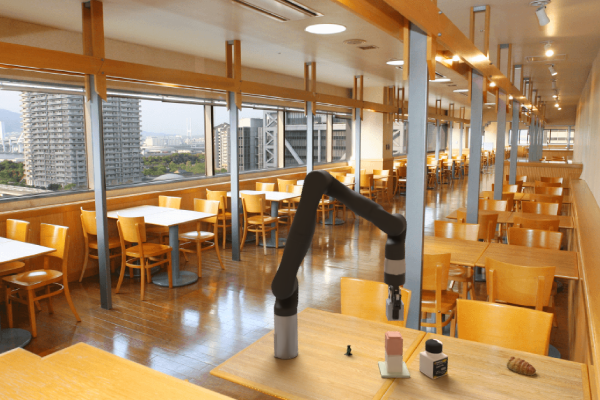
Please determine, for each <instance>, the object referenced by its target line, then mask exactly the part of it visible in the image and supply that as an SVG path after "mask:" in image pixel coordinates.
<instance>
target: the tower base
mask: <svg viewBox="0 0 600 400" xmlns="http://www.w3.org/2000/svg"><path fill="white" fill-rule="evenodd" d="M403 358H404V356H403V355H387V353H386V350H385V349H384V361H377V365H378V368H379V373H380V376H381V378H388V379H389V378H398V379H399V378H402V379H403V378H411V374H410V372H409V370H408V369H409V368H408V366H407V364H406V362H405V361H403V360H404V359H403Z"/></svg>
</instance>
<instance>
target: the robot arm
mask: <svg viewBox="0 0 600 400" xmlns="http://www.w3.org/2000/svg"><path fill="white" fill-rule="evenodd" d="M300 193H301V194H300V197H299V202H298V205H297V208H296V210H295V213H294V215H293V219H292V222H291V224H290V227H289V229H288V233H287V237H286V240H285V243H284V249H283V252H282V255H281V260H280V263H279V265H278V268H277V270H276V272H275V275H274V276H273V279H272V281H271V284H270V289H271V293H272V295H273V297H275V299H274V304H273V323H274V324H273V327H274V330H273V354H274V356H273V357H274V358H279V359H282V360H290V359H294V358H296V357H297V356H298V355H299V331H298V329H299V327H298V325H299V323H298V308H299V307H298V305H299V296H300V295H299V287H300V286H299V280H298V272H299V269H300V266H301V264H302V262H304V260H305V257H306V255H307V254H308V251H309V249H310V247H311V244H312V240H314V239H313V238H314V235H315V231H316V226H317V225H316V224H317V222H316V221H317V211H318V208H319V205H320V202H321V201H322V198H323V196H324V195H325V196H328V197H331V198H333V199H335V200H336V201H338V202H340V203H341V204H343V205H344V206H345V207H347V209H349V210H350V211H351V212H352V213H354V214H356V215H357V216H359V217H360V218H363V219H364V220H366V221H368V222H369V223H371V224H373V225H374V226H375V227H376V228H378V229H379V230H381V232H382V233H385V234H386V242H385V244H384V261H383V283H384V284H385V285H387V299H388V298H390V301H391V303H392V318H393V319H394V320H398V319H399V310H401V300H402V289H400V288H401V287H400V286H404V285H405V284H406V270H407V269H406V268H407V266H406V265H407V263H406V239H407V230H408V223H407V221H408V220H407V218H406V217H405V216H404V215H403V214H401V213H398V212H397V213H395V212H394V213H390V212H388V211H387V210H385V209H384V207H383V206H382V205H381V204H379V203H378V202H375V201H374V200H372V199H371V198H369V197H366V196H364V195H362V194H361V193H359V192H357V191H355V190H353V189H351V188H350V187H348V185H345V184H344V183H342V181H340V180H338V179H337V178H336V177H335V176H334V175H332V174H331V173H329V171H327V170H324V169H314V170H310V171H309V172H307V174H306V175H305V177H304V180H303V182H302V188H301V192H300ZM395 304H398V306H395Z"/></svg>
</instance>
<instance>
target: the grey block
mask: <svg viewBox="0 0 600 400" xmlns="http://www.w3.org/2000/svg"><path fill="white" fill-rule="evenodd" d="M395 306H398V304H395ZM385 316H386V319H387V321H388V322H391V321H392V322H395V321H396V322H403V321H405V320H404V319H405V317H404V316H405V304H404V302H403V300H402V299H401V310H399V319H398V320H394V319H393V318H392V303H391V301H390V298H388V297H387V298H385Z"/></svg>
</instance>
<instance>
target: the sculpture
mask: <svg viewBox="0 0 600 400" xmlns="http://www.w3.org/2000/svg"><path fill="white" fill-rule="evenodd" d="M346 348H347V349H346V352H345V353H344V354H343V355H344V356H346V357H347V358H349V357H351V356H353V353H351V351H352V348H351V344H348V345H347V346H346Z"/></svg>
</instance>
